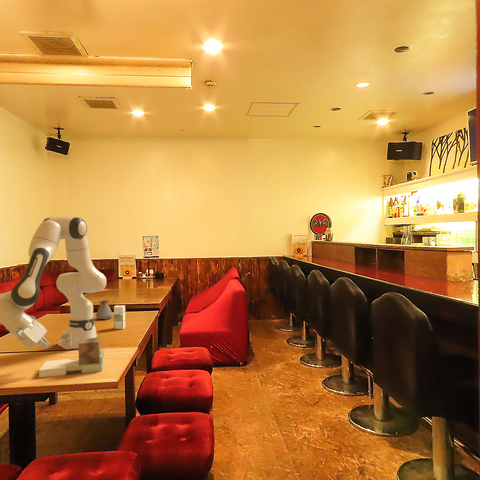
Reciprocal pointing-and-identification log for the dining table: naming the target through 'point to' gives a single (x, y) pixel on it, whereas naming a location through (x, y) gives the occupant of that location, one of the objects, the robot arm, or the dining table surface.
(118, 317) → the syrup box
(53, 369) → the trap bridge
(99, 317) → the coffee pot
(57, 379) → the dining table surface
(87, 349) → the walnut block
